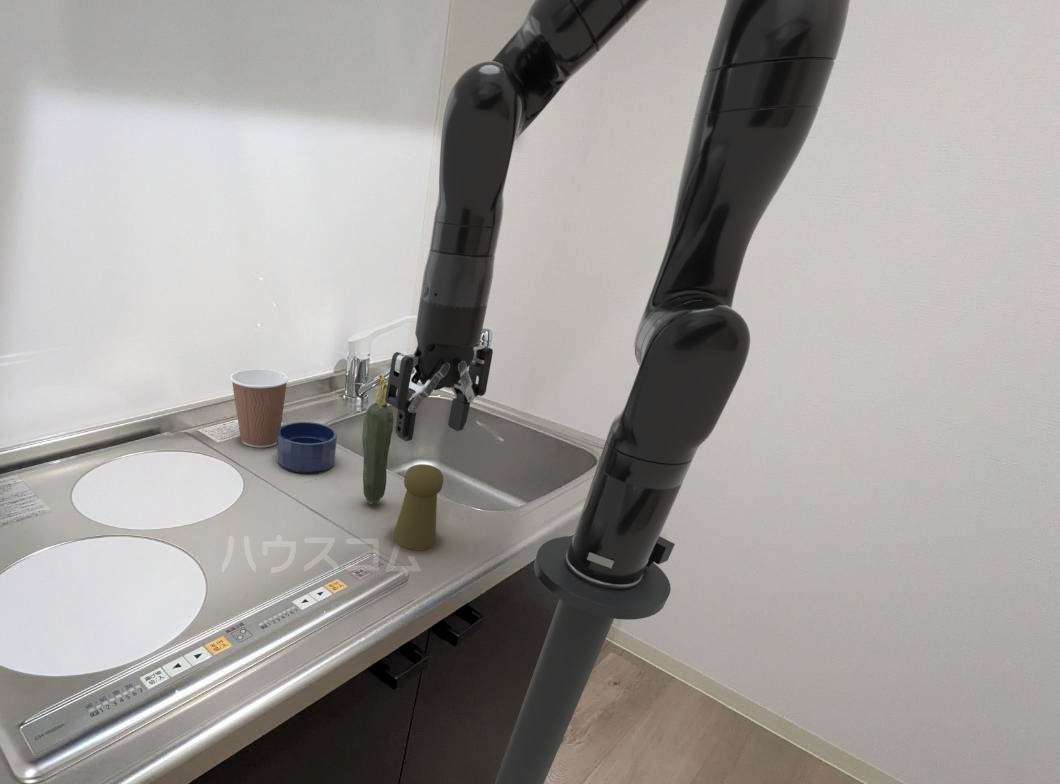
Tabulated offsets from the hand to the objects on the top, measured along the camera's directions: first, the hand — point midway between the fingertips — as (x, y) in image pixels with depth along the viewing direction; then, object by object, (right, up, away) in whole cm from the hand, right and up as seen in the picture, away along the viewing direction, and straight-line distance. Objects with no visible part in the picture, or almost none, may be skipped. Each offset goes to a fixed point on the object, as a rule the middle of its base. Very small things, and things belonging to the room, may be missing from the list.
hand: (430, 433), depth 74 cm
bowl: (-17, +1, +28) cm, 33 cm away
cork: (-1, -13, +9) cm, 16 cm away
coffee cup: (-26, +6, +35) cm, 44 cm away
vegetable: (-6, -8, +17) cm, 19 cm away
